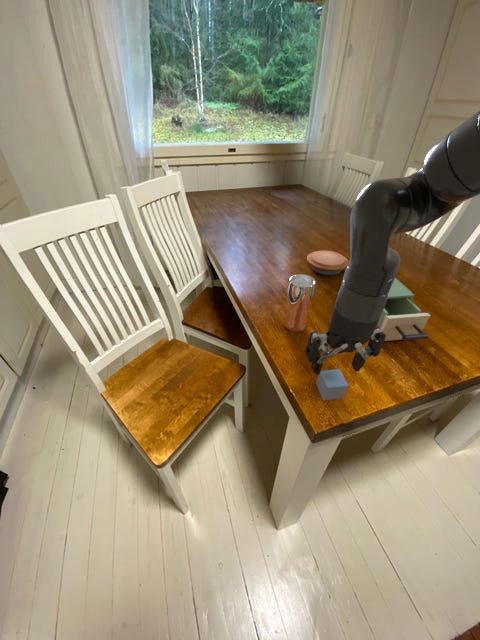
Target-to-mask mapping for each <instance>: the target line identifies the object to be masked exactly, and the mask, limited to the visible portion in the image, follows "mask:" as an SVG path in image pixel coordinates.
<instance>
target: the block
mask: <svg viewBox="0 0 480 640" xmlns="http://www.w3.org/2000/svg"><path fill="white" fill-rule="evenodd" d="M315 385H316V387H317V390H318V392H319V395H320V397H321V399H322V401H323V402H324V401H335V400H342V399H344V397H345V395H346V392H347V390H348V387H349V384H348V382H347V380H346V378H345V377H344V375H343V373H342V371H341V369H340V368H335V369H325V370H324V369H323V370H321V372H320V375H317V379H316V382H315Z"/></svg>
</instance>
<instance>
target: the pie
mask: <svg viewBox="0 0 480 640" xmlns="http://www.w3.org/2000/svg"><path fill="white" fill-rule="evenodd" d="M306 261H307V262H308V264H309V266H310V268H311V270H313V271H314V272H315V273H317V274H319V275H324V276H333V275H337V274H339V273H341V272H342V271H343V270H344V269H346V268H347V267H348V263H349V260H348V258H347V257H345V256H344V255H343V254H340V253H339V252H336V251H332V250H317V251H313V252H310V253H309V254H308V255H307V257H306Z"/></svg>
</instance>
